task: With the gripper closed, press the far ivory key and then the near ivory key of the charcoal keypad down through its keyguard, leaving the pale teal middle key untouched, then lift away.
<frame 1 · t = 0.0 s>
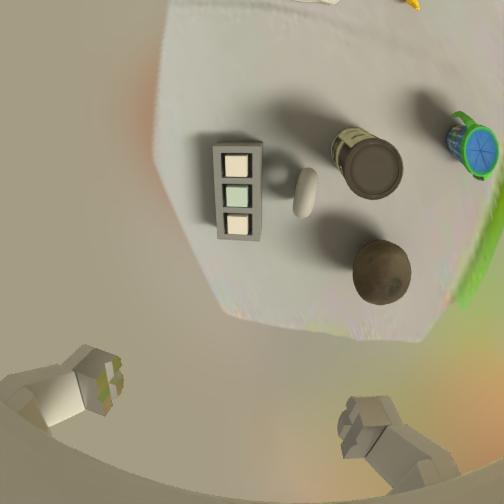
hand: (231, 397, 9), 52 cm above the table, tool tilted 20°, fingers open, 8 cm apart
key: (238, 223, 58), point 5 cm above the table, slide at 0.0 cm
donut: (303, 184, 57), on the table
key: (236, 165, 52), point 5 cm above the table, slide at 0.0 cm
keypad: (240, 187, 59), on the table
coconut: (373, 252, 64), on the table
snack cup: (457, 140, 46), on the table
key mid: (237, 195, 55), point 5 cm above the table, slide at 0.0 cm
coffee can: (354, 151, 52), on the table
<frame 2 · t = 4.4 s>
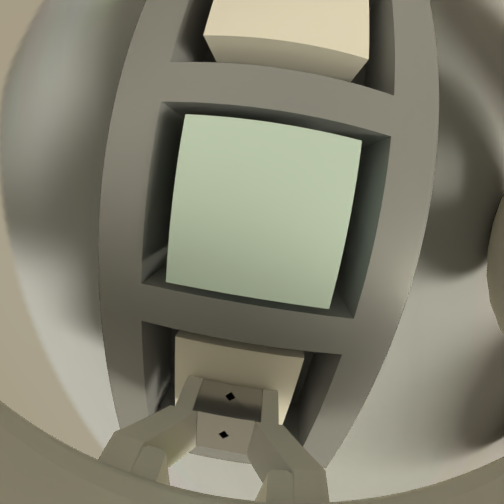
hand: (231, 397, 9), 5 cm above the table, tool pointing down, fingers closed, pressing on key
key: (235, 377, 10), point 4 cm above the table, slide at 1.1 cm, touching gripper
donut: (495, 227, 11), on the table
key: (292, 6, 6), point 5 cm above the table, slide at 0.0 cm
keypad: (265, 199, 12), on the table
key mid: (261, 208, 7), point 5 cm above the table, slide at 0.0 cm
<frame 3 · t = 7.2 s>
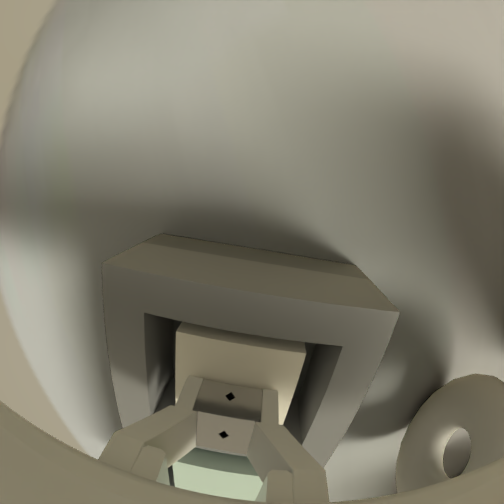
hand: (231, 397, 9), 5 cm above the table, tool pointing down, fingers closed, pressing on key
donut: (426, 402, 14), on the table
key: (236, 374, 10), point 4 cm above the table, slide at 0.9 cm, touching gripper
keypad: (231, 411, 15), on the table
key mid: (219, 473, 10), point 5 cm above the table, slide at 0.0 cm
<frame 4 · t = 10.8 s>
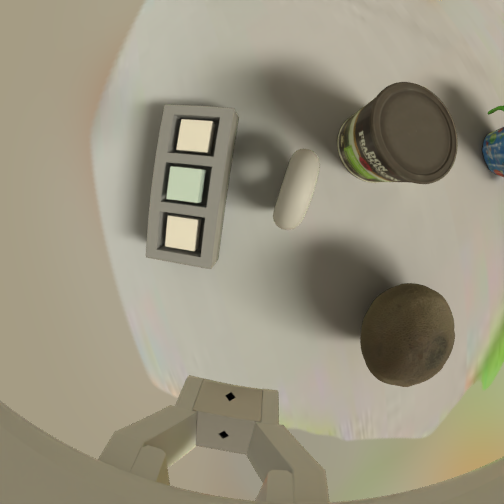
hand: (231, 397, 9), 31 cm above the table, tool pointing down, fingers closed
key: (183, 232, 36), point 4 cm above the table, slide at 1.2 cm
donut: (292, 188, 37), on the table
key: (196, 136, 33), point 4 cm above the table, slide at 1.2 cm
keypad: (196, 184, 38), on the table
coconut: (387, 310, 40), on the table
snack cup: (493, 153, 33), on the table
key mid: (186, 184, 33), point 5 cm above the table, slide at 0.0 cm
coffee can: (371, 147, 35), on the table
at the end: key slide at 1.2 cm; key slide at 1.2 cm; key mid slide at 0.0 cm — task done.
